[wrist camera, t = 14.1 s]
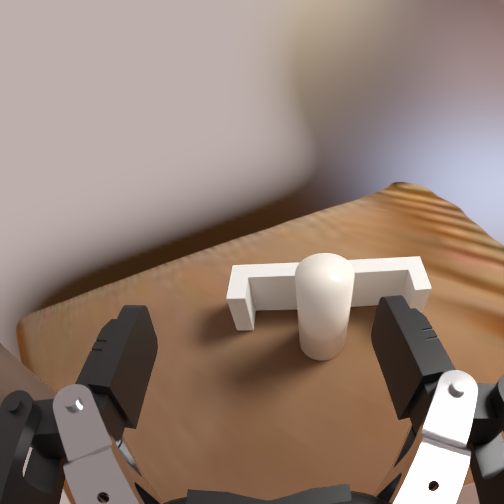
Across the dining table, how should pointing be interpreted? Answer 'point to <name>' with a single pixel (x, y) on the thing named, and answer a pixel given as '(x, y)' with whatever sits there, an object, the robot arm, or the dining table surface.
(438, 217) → the dining table surface
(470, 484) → the jar
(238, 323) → the stop rail
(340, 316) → the white pillar candle
